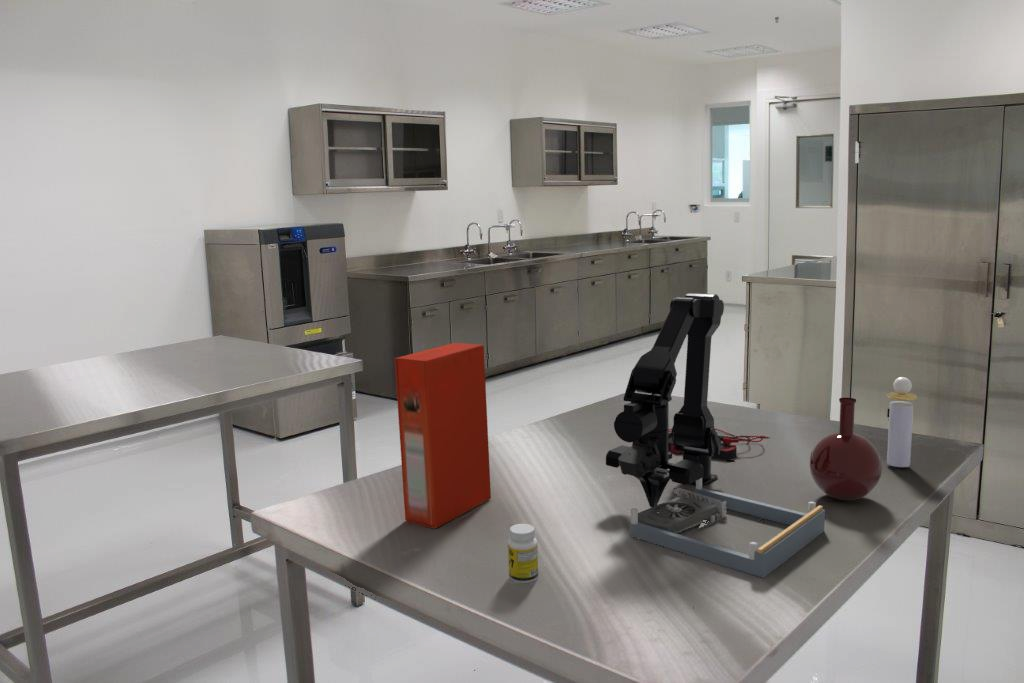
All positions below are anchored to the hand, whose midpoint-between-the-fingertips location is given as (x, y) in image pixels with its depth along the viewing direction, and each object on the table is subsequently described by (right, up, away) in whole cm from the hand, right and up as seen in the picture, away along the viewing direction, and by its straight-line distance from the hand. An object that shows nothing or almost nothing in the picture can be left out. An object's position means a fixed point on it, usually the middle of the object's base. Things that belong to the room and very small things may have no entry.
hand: (653, 506), depth 157 cm
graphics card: (+3, -2, -4) cm, 5 cm away
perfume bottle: (+57, +4, +20) cm, 60 cm away
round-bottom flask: (+38, +1, +4) cm, 38 cm away
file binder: (-40, -2, +5) cm, 40 cm away
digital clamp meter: (+21, +6, +42) cm, 47 cm away
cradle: (+11, -3, -10) cm, 15 cm away
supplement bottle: (-25, -7, -25) cm, 36 cm away
